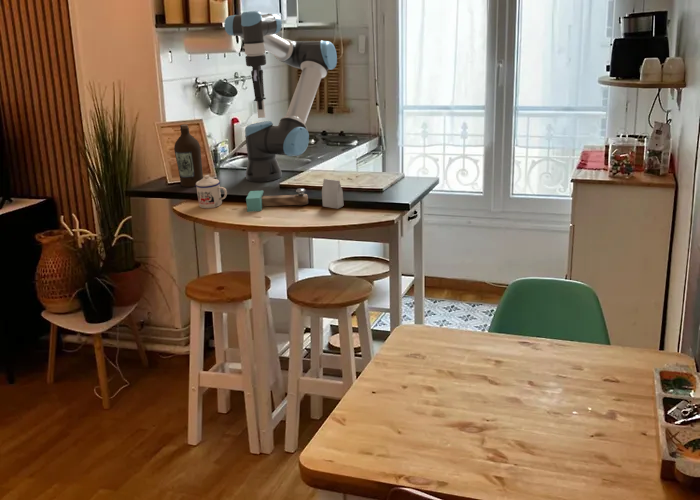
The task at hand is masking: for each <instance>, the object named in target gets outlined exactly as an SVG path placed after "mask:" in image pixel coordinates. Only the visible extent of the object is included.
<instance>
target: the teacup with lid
mask: <svg viewBox="0 0 700 500" xmlns="http://www.w3.org/2000/svg"><path fill="white" fill-rule="evenodd" d="M220 183H221V182H220V181H219V179H217V178H213V177H211V176H210V174H206V175H203V179H201V180H200V181H198V182H196V186H195V187H196V194H197V200H198V207H200V208H203V209H214V208H217V207H220V206H222V203H223V200H224V199H226V198H227V195H228V191H227V188H225V187H223V186H221V185H220ZM221 190H223V192H224V195H223V197H222V193H221Z"/></svg>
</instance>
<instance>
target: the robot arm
mask: <svg viewBox="0 0 700 500" xmlns="http://www.w3.org/2000/svg"><path fill="white" fill-rule="evenodd" d="M282 26H283V23H282V19H281V17H280V16H279V15H278V14H276V13H266V14H262V13H261V11H259V10H248V11H243V12H242V13H241V14H234V15H229V16H227V17H226V18H225V20H224V26H223V27H224V30H225V33H226V34H227V35H228V36H233V37H236V36H238V37H240V38H243V45H242V49H244V54H245V65H246V66H247V67H252V68H251V69H252V70H251V71H250V74H251V81H252V86H253V94H254V100H253V101H254V102H256V111H257V118H258V119H261V118H262V119H263V118H266V117H267V116H266V106H265V100H266V99H267V98H266V97H265V88H264V87H265V86H264V69H262V66H265V65H266V64H267V58H266V54H265V53H266V51H267V52H268V53H270V54H272V55H274V58H275V59H277V61H280V62H281V63H283V64H285V65H288V66H290V67H293V68H296V69H300V70H301V73H300V76H299V79H298V82H297V84H296V87H295V89H294V93H293V94H292V95H293V96H292V97H291V101H290V102H289V106H288V108H287V112H286V115H285V116H283V117H282V118H280V120H279V122H278V125H274V123H273V121H271V120H268V121H267V120H266V121H265V120H264V121H259V122H254V123H251V124H249V125H247V126H245V129H244V131H245V132H244V133H245V136H244V137H245V144H246V153H247V154H246V155H247V167H246V170H245V180H247V181H249V182H251V183H252V182H254V183H262V182H263V183H264V182H270V181H275V180H277V179H280V178H281V177H282V175H283V174H282V169H281V167H280V166H281V165H279V162H278V160H277V155H278V156H288V157H293V156H294V157H297V156H301V155H302V154H304V152H306V150H307V148H308V146H309V142H310V139H309V138H310V133H309V131H308V127H307V125H306V123H307V120H308V117H309V114H310V111H311V109H312V106H313V103H314V100H315V98H316V95H317V92H318V89H319V87H320V83H321V81H322V79H324V78H326V76H327V75H328V71H330V70H331V71H332V70H334V69H335V68H336V67H337V63H338V56H337V49H336V47H335V45H334V43H332V42H331V41H329V40H322V39H321V40H316V41H315V40H311V41H310V40H291V39H288V38H283V37H280V36H279V35H277V34H278V33H280V31H281V30H282Z"/></svg>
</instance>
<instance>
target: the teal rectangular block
mask: <svg viewBox="0 0 700 500" xmlns="http://www.w3.org/2000/svg"><path fill="white" fill-rule="evenodd" d="M262 196H264V190H263V189H262V190H250V191H249V192H248V194H247V196H246V198H245V201H246V210H247V213H249V212H262V210H263V207H264V206H262Z"/></svg>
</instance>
